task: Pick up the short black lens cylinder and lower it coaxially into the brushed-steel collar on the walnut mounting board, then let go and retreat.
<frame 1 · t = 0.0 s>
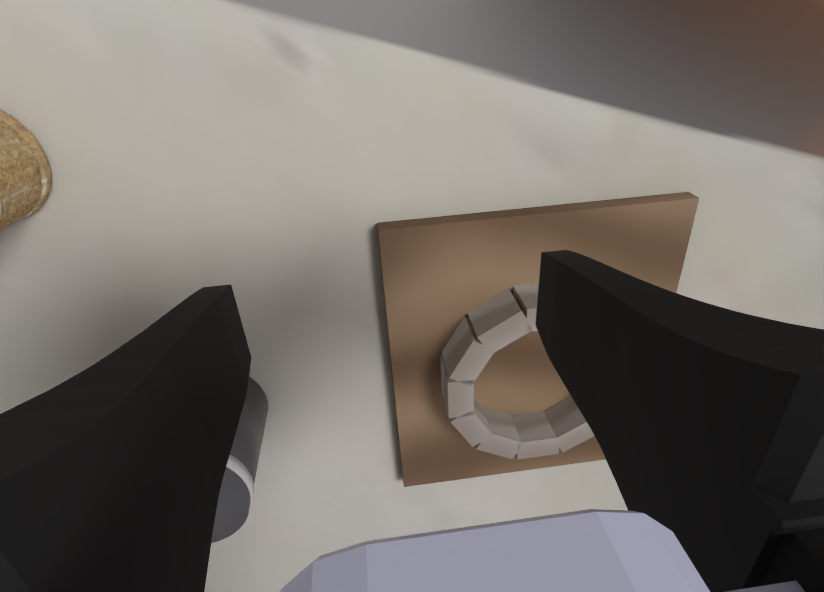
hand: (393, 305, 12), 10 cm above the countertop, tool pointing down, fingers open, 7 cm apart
mount board: (525, 353, 26), on the countertop
lens: (217, 405, 25), on the countertop
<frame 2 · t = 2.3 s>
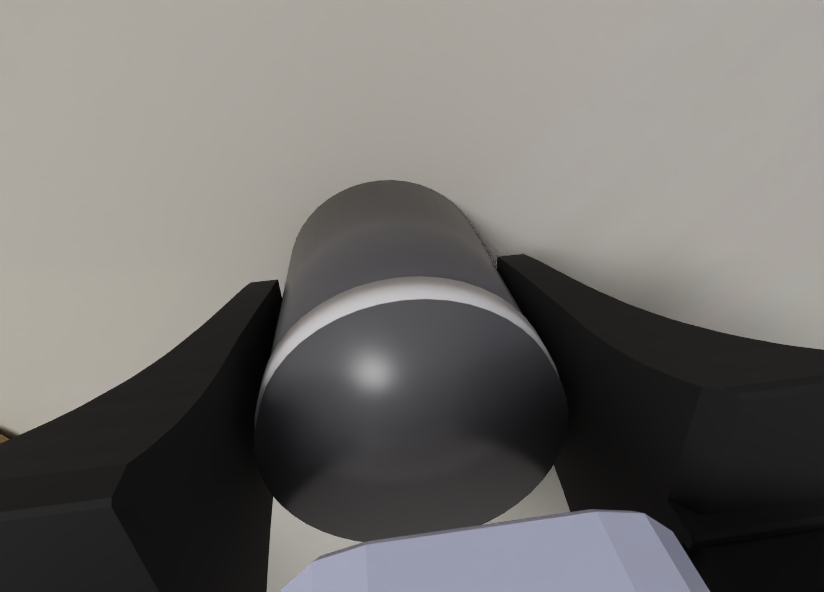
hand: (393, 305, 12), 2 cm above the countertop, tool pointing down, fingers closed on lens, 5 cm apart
lens: (387, 273, 13), on the countertop, touching gripper
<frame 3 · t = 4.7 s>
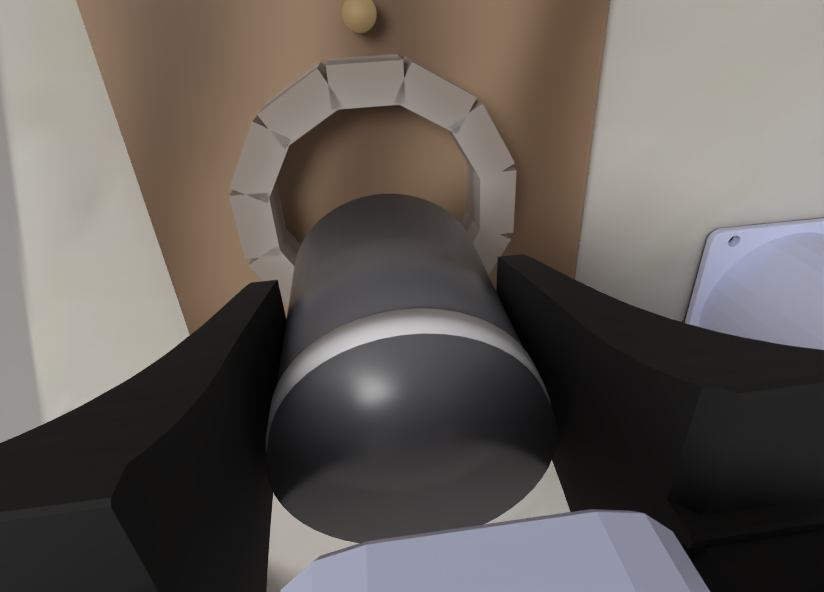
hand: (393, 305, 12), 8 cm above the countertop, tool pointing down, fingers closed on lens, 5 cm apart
mount board: (374, 188, 19), on the countertop
lens: (387, 280, 14), point 6 cm above the countertop, touching gripper
when the fingers open (4 cm above the countertop, at t = 7.3 s): lens drops 1 cm, resting on mount board.
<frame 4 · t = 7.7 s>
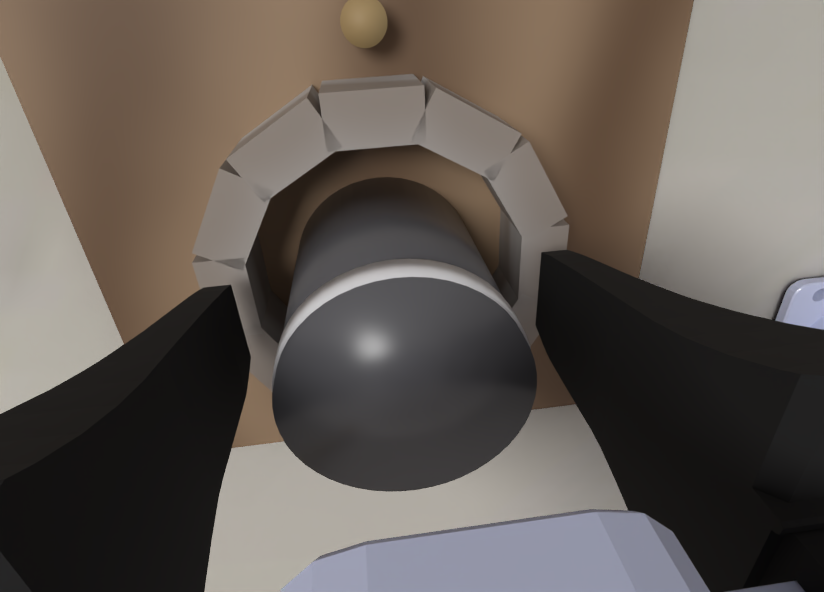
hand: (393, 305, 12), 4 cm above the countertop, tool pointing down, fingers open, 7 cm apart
mount board: (382, 238, 15), on the countertop
lens: (385, 261, 15), point 1 cm above the countertop, touching mount board
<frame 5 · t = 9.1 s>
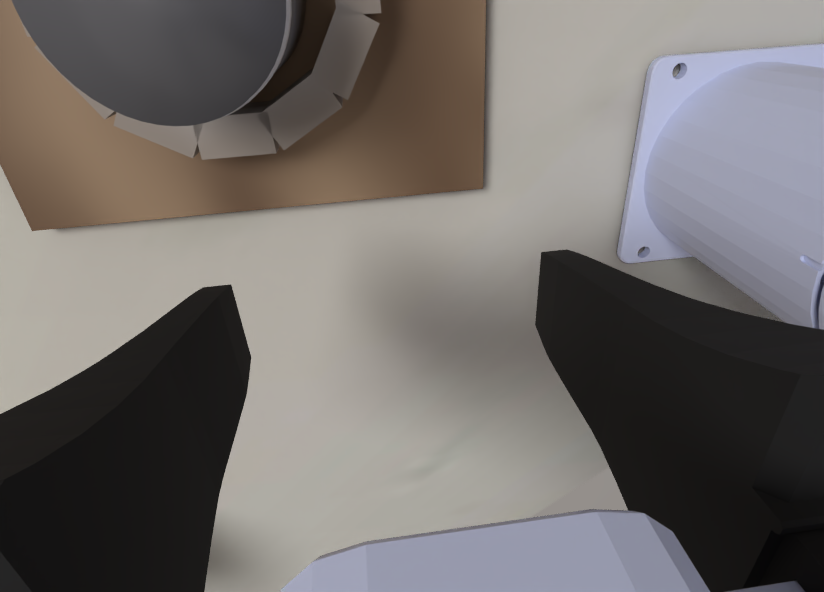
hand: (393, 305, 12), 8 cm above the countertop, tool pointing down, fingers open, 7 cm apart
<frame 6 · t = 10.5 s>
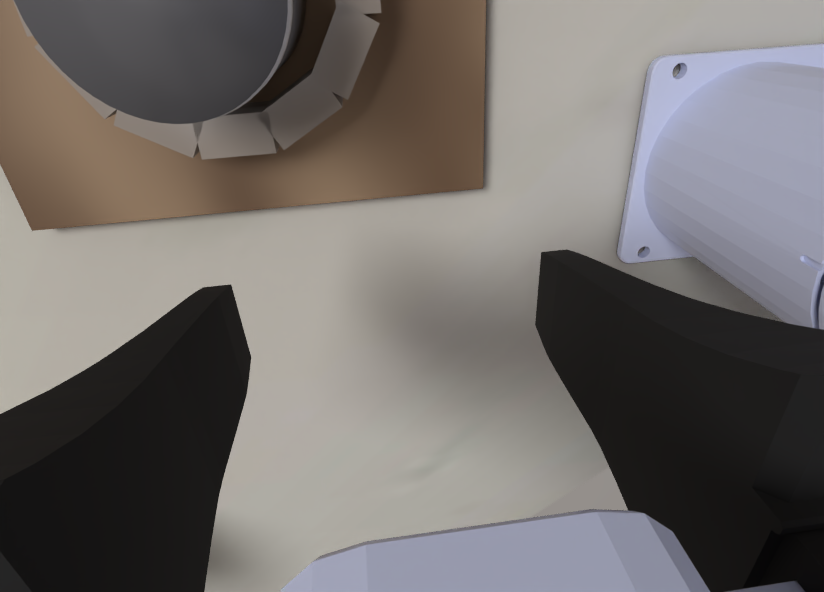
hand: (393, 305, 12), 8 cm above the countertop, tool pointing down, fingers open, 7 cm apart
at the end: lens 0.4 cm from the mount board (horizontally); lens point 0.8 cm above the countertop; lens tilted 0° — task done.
